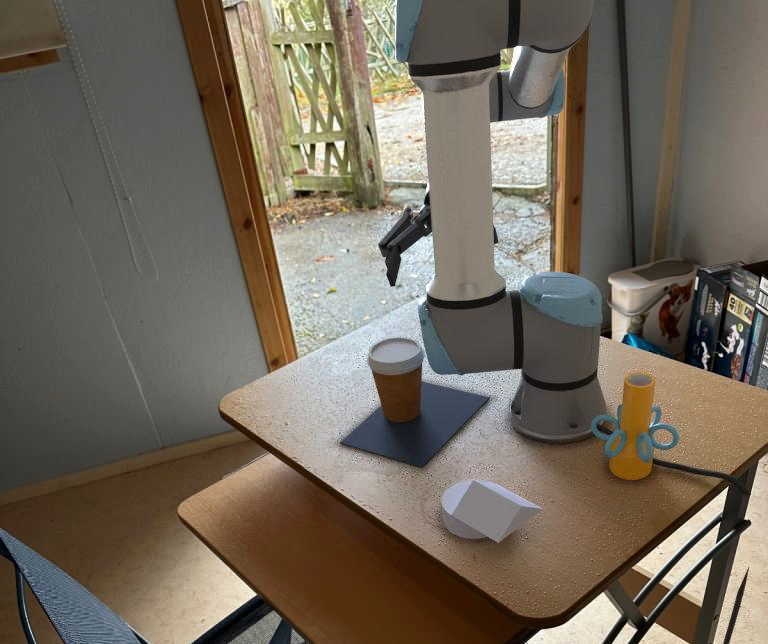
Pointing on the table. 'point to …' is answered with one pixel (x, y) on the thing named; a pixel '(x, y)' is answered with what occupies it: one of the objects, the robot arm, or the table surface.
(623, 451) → the yellow tube with rings
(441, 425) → the mat
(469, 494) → the wedge on round base
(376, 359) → the disposable coffee cup
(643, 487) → the table surface
